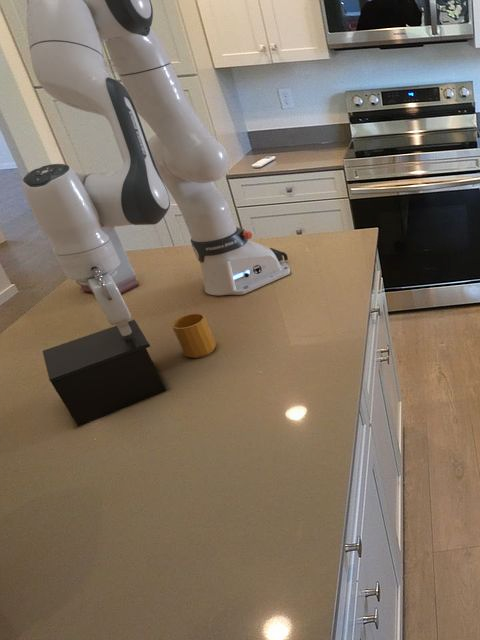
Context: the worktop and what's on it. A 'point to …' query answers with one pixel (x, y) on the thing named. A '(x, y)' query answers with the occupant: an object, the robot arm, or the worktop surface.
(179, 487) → the worktop surface
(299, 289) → the worktop surface
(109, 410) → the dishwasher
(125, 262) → the bottle
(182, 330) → the golden yellow cup
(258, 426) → the worktop surface
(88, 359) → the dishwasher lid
